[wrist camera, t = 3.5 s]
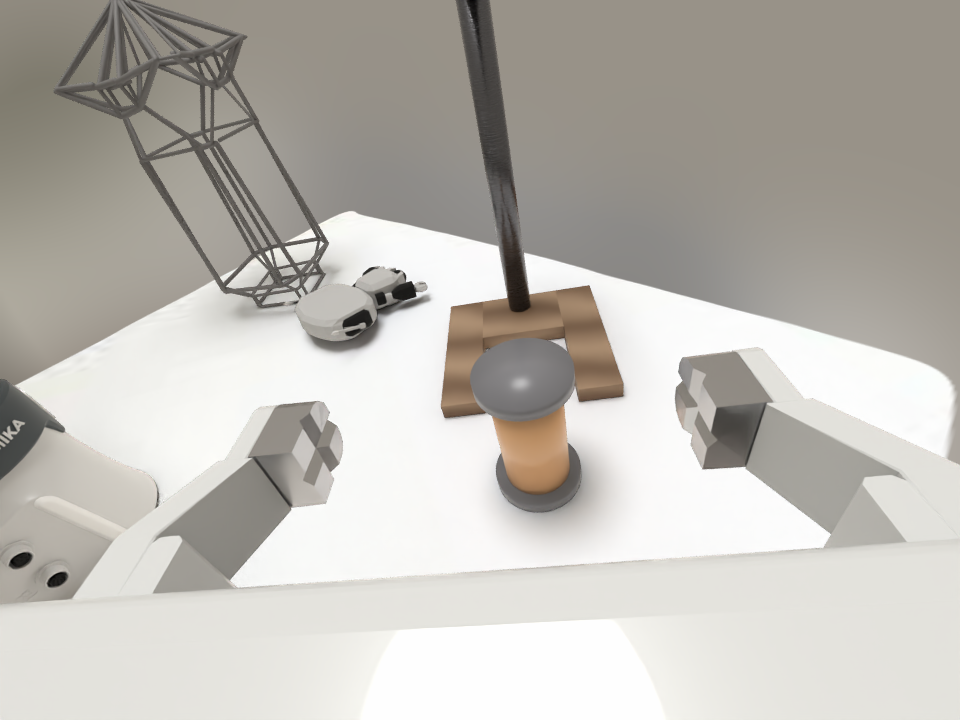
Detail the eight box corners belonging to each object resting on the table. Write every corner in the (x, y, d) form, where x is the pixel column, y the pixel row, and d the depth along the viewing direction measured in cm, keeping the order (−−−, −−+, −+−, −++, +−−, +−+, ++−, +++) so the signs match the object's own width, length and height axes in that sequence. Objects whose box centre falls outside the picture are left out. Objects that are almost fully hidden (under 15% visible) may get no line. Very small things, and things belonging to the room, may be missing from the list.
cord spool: (571, 521, 30) (561, 417, 23) (486, 501, 33) (454, 401, 26) (588, 448, 35) (583, 342, 28) (511, 435, 37) (489, 334, 30)
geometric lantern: (317, 317, 59) (124, -22, 36) (219, 328, 62) (-12, 26, 40) (355, 257, 70) (227, -28, 47) (271, 270, 74) (115, 10, 51)
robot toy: (384, 282, 64) (291, 330, 57) (375, 253, 62) (276, 300, 54) (438, 304, 57) (339, 364, 49) (431, 273, 54) (325, 331, 47)
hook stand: (540, 372, 40) (478, -90, 21) (514, 376, 40) (429, -77, 21) (529, 298, 50) (480, -67, 30) (508, 301, 50) (446, -58, 30)
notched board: (622, 396, 38) (623, 383, 37) (444, 417, 40) (440, 406, 39) (589, 296, 50) (589, 285, 49) (454, 317, 52) (451, 306, 51)
